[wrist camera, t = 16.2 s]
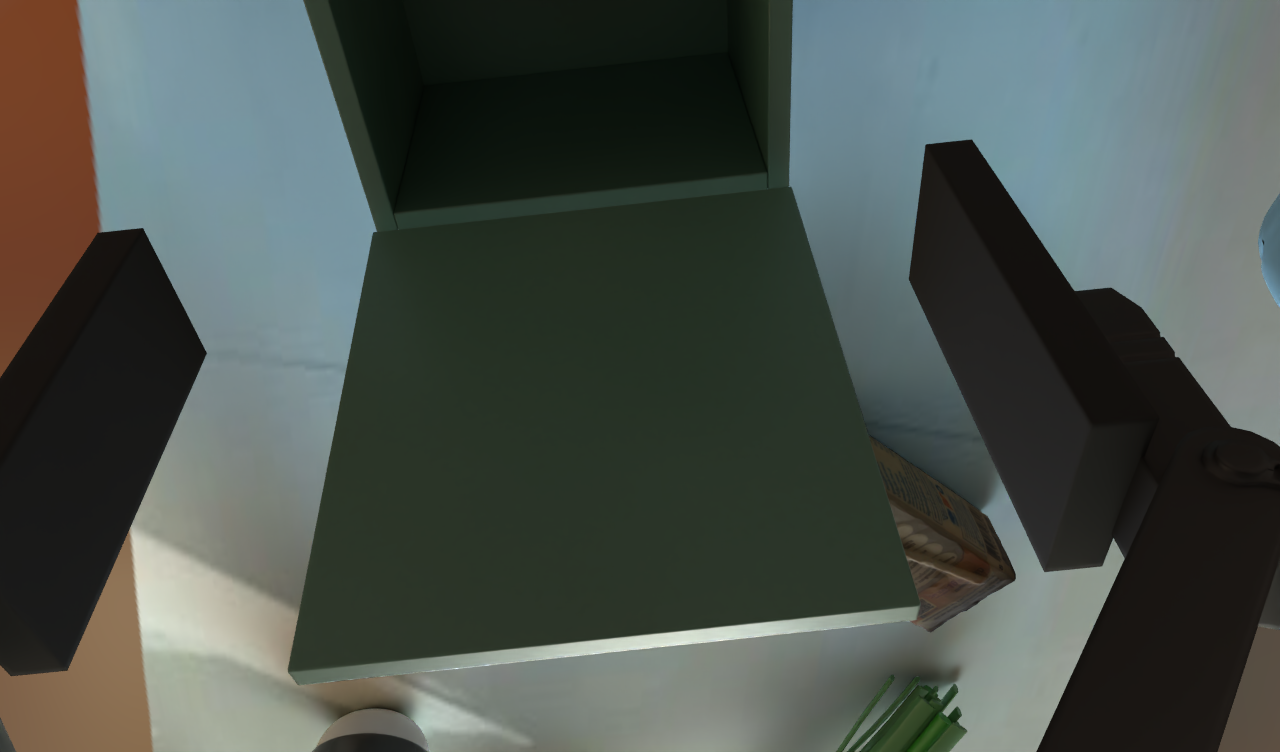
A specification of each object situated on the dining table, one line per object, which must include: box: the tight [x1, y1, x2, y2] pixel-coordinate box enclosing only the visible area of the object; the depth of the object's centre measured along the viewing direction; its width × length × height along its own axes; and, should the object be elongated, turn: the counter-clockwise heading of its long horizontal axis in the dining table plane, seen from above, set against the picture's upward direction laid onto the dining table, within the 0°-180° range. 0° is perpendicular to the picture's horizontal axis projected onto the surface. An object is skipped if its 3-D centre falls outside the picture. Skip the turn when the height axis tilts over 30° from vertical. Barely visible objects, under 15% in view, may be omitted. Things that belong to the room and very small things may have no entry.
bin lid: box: [288, 187, 921, 685], centre depth 29 cm, size 17×16×1 cm
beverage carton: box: [869, 436, 1016, 632], centre depth 63 cm, size 8×19×7 cm, turn 49°
